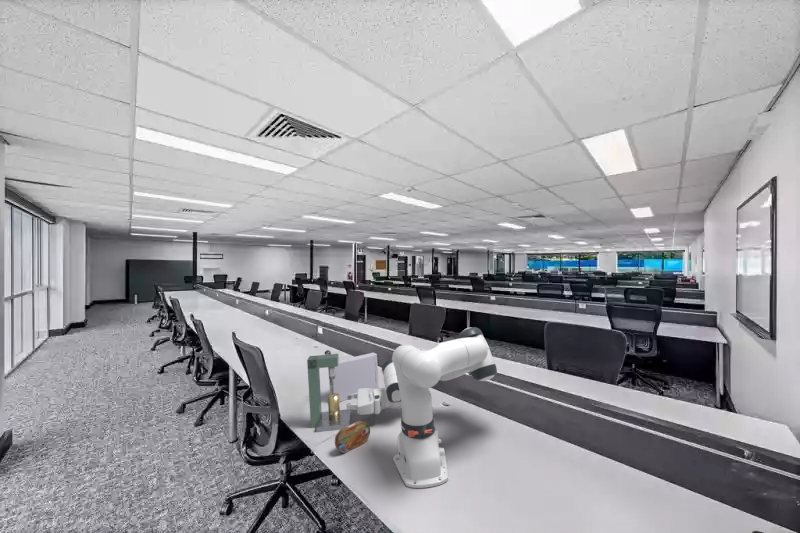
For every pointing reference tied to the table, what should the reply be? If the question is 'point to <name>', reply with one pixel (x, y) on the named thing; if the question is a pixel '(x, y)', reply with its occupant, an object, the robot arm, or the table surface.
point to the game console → (355, 375)
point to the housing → (334, 406)
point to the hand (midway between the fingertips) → (347, 401)
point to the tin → (352, 436)
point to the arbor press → (316, 415)
